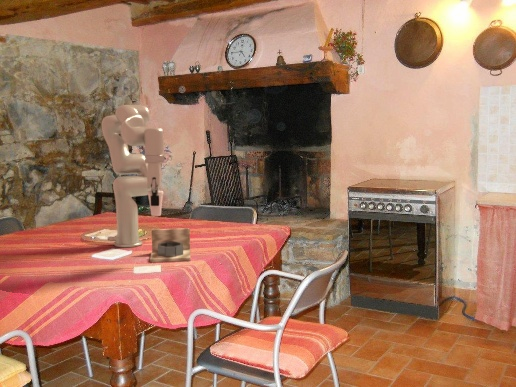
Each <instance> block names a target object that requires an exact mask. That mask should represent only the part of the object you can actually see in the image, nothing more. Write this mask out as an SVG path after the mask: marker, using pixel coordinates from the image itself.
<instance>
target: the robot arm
mask: <svg viewBox="0 0 516 387" xmlns="http://www.w3.org/2000/svg"><path fill="white" fill-rule="evenodd" d="M114 113H115V114H112V115H107V116H105V117H103V118H102V121H101V131H102V135H103V138H104V140H105V142H106V144H107V146H108V150H109V155H110V161H111V165H112V169H113V172H114V173H115V174H116V175H121V176H118V177H116V178H115V179H114V180H113V183H112V189H113V193H114V200H115V209H116V210H115V211H116V213H115V214H116V232H117V234H116V235H114V236H113V235H112V236H111V235H110V236H107V241H109V242H114V244H113V246H115V247H118V248H134V247H139V246H141V245H142V244H143V241H142V240H141V239H139V233H140V231H139V213H138V212H139V209H138V204H137V202H136V201H135V200H134V199H133V198H132V197H142V196H148V193H147V192H148V191H151V206H159V196H158V190H160V191H161V189H160V188H161V187H162V178H163V176H162V173H163V172H162V164H165V141H164V140H165V136H164V135H165V134H164V130H163V128H160V127H155V126H154V127H153V126H147V124H148V123H149V121H150V115H151V114H150V111H149V109H148V107H147V106H145V105H142V104H122V105H120V106H117V108H116V109H115V112H114ZM119 134H120V135H119ZM129 146H131V147H141V146H142V147H144V154H143V153H137V152H135V153H131V152H130V151H129V150H130V149H129ZM123 175H124V176H123Z"/></svg>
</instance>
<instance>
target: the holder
mask: <svg viewBox="0 0 516 387" xmlns="http://www.w3.org/2000/svg"><path fill="white" fill-rule="evenodd" d="M190 232H191V231H190V228H189V227H188V228H159V229H158V228H157V229H155V228H153V229H151V247H152V248H151V249H152V250H151V251H152V252H151V254H150V258H149V263H161V262H162V263H167V262H169V263H170V262H186V261H187V262H190V261H191V237H190V234H191V233H190Z"/></svg>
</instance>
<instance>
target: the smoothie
mask: <svg viewBox="0 0 516 387" xmlns="http://www.w3.org/2000/svg"><path fill="white" fill-rule="evenodd" d="M147 193H148V195H147V196H148V201H149V208H150V214H151V215H150V216H151V217H160V216H161V215H162V208H163V206H162V204H163V196H164V191H163V190H161V189H160V190H158V196H159V206H151V191H148V192H147Z"/></svg>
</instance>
